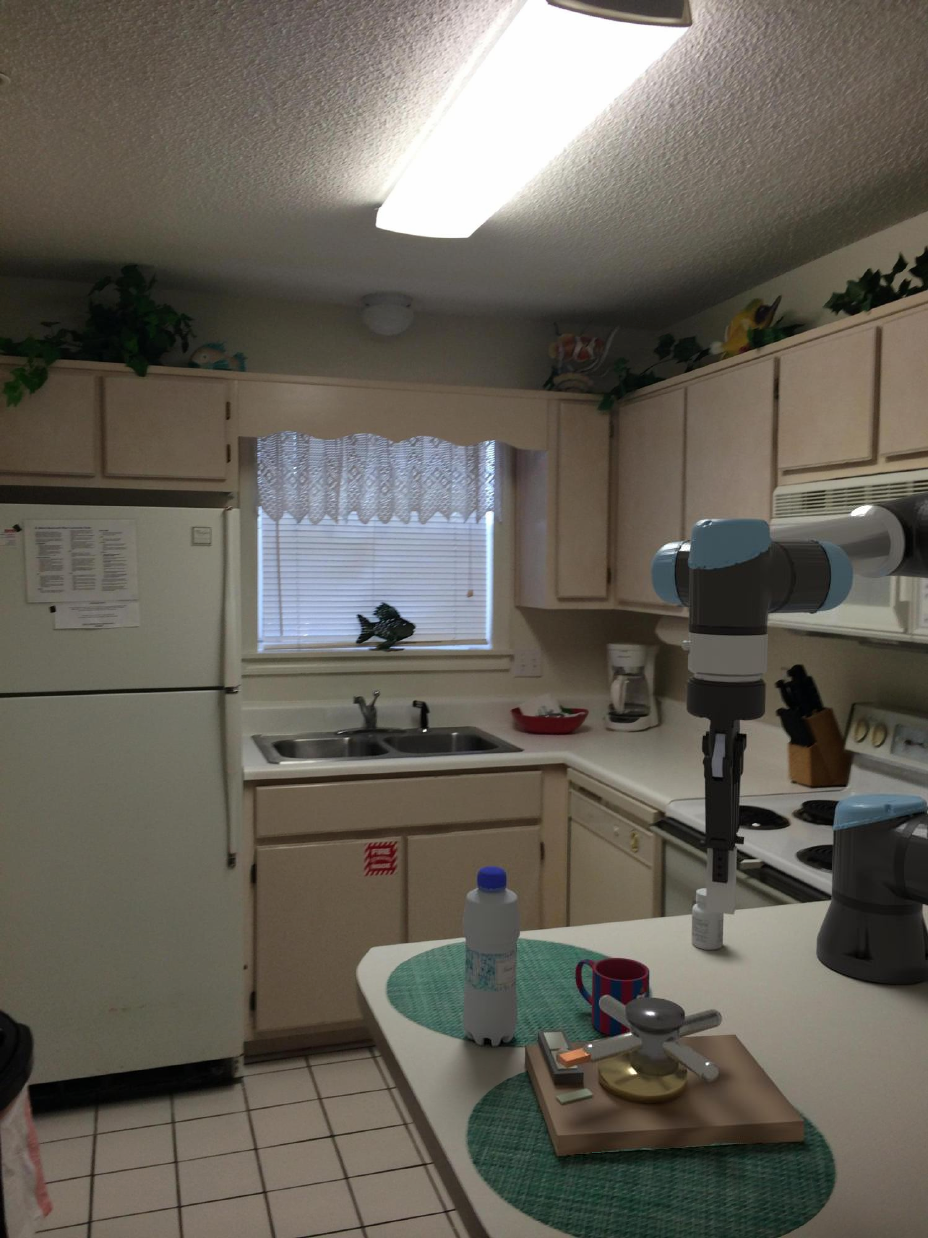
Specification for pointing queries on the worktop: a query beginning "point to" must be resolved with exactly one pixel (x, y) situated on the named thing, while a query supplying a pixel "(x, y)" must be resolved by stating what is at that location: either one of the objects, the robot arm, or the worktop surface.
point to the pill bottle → (706, 924)
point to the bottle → (491, 958)
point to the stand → (699, 1116)
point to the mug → (613, 988)
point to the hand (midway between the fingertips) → (720, 910)
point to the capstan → (648, 1050)
